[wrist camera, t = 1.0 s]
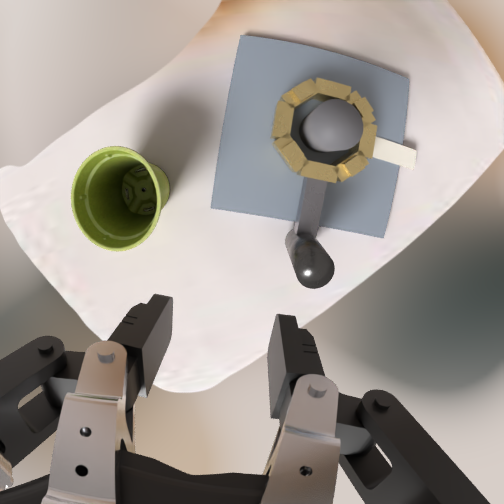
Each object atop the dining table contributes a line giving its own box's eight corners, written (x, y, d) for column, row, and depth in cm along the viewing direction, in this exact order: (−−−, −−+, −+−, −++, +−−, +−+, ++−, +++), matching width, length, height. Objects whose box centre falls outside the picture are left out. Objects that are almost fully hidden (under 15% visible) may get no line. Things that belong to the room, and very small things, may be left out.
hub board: (241, 39, 25) (237, 4, 17) (417, 86, 26) (455, 73, 18) (212, 206, 31) (198, 222, 23) (392, 238, 32) (426, 261, 24)
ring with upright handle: (280, 78, 25) (289, 49, 17) (369, 101, 25) (407, 85, 17) (251, 248, 31) (250, 279, 23) (338, 261, 31) (364, 295, 23)
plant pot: (175, 138, 29) (146, 131, 20) (193, 219, 31) (172, 240, 23) (104, 162, 29) (62, 166, 21) (122, 236, 32) (86, 259, 24)
